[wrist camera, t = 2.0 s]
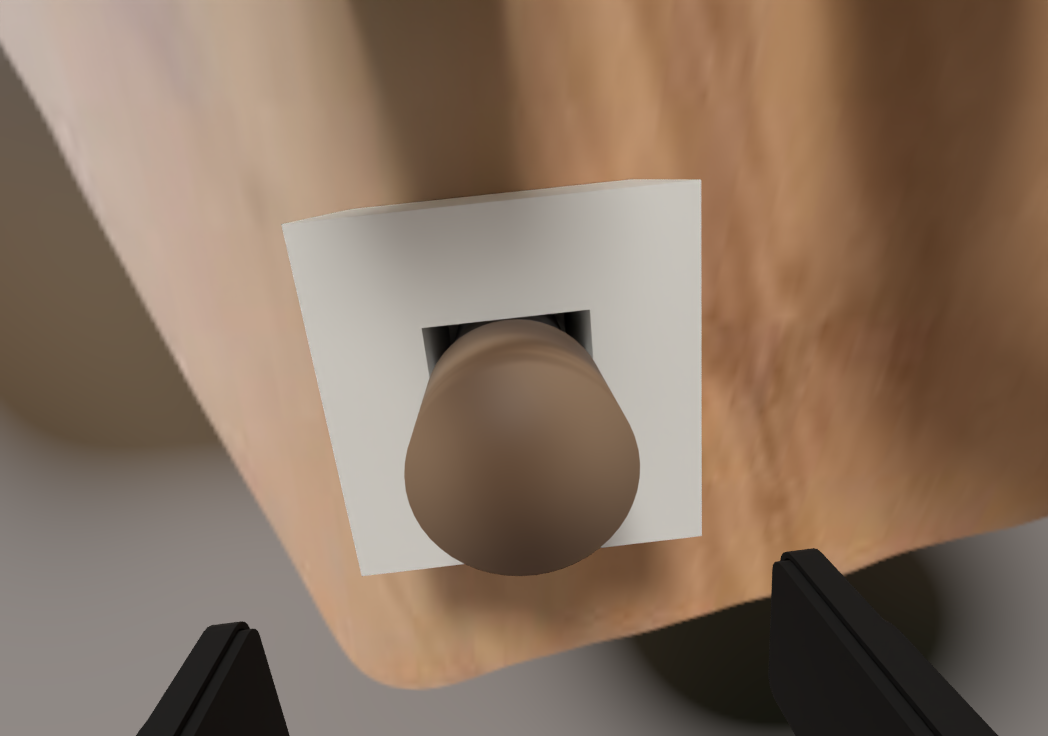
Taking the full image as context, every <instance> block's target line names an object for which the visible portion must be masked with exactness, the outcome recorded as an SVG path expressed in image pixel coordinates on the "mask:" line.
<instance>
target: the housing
mask: <svg viewBox="0 0 1048 736" xmlns="http://www.w3.org/2000/svg"><path fill="white" fill-rule="evenodd" d="M281 225H282V229H283V233H284V238H285V242H286V247H287V251H288V255H289V260H290V264H291V268H292V273H293V277H294V282H295V286H296V290H297V295H298V299H299V303H300V308H301V312H302V317H303V321H304V325H305V330H306V334H307V338H308V343H309V347H310V352H311V356H312V360H313V365H314V369H315V373H316V378H317V382H318V387H319V391H320V395H321V400H322V404H323V408H324V413H325V417H326V422H327V426H328V430H329V435H330V439H331V443H332V448H333V452H334V457H335V461H336V465H337V470H338V474H339V479H340V483H341V487H342V492H343V496H344V500H345V505H346V509H347V514H348V518H349V522H350V527H351V531H352V535H353V540H354V544H355V549H356V553H357V557H358V562H359V566H360V570H361V575H362V576H367V575H376V574H384V573H393V572H401V571H409V570H418V569H426V568H435V567H443V566H452V565H460V564H464V563H462V562H460V561H458V560H456V559H455V558H453V557H451V556H450V555H448V554H447V553H446V552H444V551H443V550H442V549H440V548H439V547H438V546H437V545H436V544H435V543H434V542H433V541H432V540H431V539H430V538H429V537H428V536H427V534H426V533H425V532H424V531H423V529H422V528H421V526H420V525H419V523H418V522H417V520H416V518H415V516H414V514H413V512H412V509H411V507H410V505H409V501H408V498H407V494H406V489H405V480H404V469H405V459H406V454H407V449H408V445H409V442H410V439H411V436H412V433H413V429H414V426H415V423H416V420H417V416H418V413H419V410H420V407H421V404H422V400H423V397H424V394H425V391H426V387H427V384H428V381H429V378H430V376H431V373H432V371H433V369H434V367H435V365H436V363H437V362H438V360H439V359H440V357H441V356H442V355H443V353H444V352H445V351H446V350H447V349H448V348H449V347H450V346H451V345H452V344H453V343H454V342H455V339H456V334H457V330H458V325H459V324H463V323H472V322H481V321H490V320H499V319H508V318H517V317H526V316H536V315H545V314H554V315H555V318H556V320H557V322H558V324H559V326H560V328H561V331H563V332H565V333H567V334H568V335H569V336H571V337H572V338H574V339H575V340H576V341H577V342H578V343H579V344H581V345H582V346H583V347H584V348H585V350H586V351H587V352H588V353H589V354H590V356H591V357H592V359H593V360H594V362H595V364H596V365H597V367H598V369H599V371H600V372H601V374H602V376H603V378H604V380H605V381H606V383H607V385H608V387H609V388H610V390H611V392H612V394H613V395H614V397H615V399H616V401H617V403H618V404H619V406H620V408H621V410H622V411H623V413H624V415H625V417H626V419H627V420H628V422H629V424H630V426H631V429H632V431H633V433H634V436H635V439H636V442H637V446H638V450H639V458H640V479H639V484H638V490H637V493H636V496H635V499H634V502H633V505H632V507H631V509H630V511H629V513H628V515H627V517H626V519H625V520H624V522H623V523H622V525H621V526H620V528H619V529H618V530H617V531H616V532H615V534H614V535H613V536H612V537H611V538H610V539H609V540H608V541H607V542H606V543H605V544H604V545H603V546H601V547H600V548H603V547H612V546H620V545H629V544H637V543H645V542H654V541H662V540H671V539H679V538H687V537H696V536H702V454H701V180H671V179H630V180H620V181H611V182H602V183H592V184H583V185H573V186H564V187H554V188H545V189H536V190H526V191H517V192H507V193H498V194H488V195H479V196H469V197H460V198H451V199H441V200H432V201H422V202H413V203H403V204H394V205H384V206H375V207H366V208H356V209H349V210H345V211H340V212H335V213H331V214H326V215H322V216H317V217H312V218H308V219H303V220H299V221H294V222H289V223H285V224H281Z"/></svg>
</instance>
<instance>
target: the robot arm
mask: <svg viewBox="0 0 1048 736" xmlns="http://www.w3.org/2000/svg"><path fill="white" fill-rule="evenodd" d="M769 651H770V652H769V683H770V687H771V691H772V693H773V696H774V698H775V700H776V702H777V704H778V705H779V707H780V709H781V710H782V713H783V714H784V716H785V718H786V720H787V721H788V723H789V725H790V727H791V728H792V730H793V732H794V734H795V735H796V736H998V735H997V734H996V733H995V732H994V731H993V730H992V729H991V728H990V727H989V726H988V724H987V723H986V722H985V721H984V720H983V719H982V718H981V717H980V716H979V715H978V714H977V713H976V712H975V711H974V710H973V708H972V707H970V705H969V704H968V703H967V702H966V701H965V700H964V699H963V698H962V697H961V696H960V695H959V694H958V692H957V691H956V690H955V689H954V688H953V687H952V686H951V685H950V684H949V683H948V682H947V681H946V680H945V679H944V678H943V677H942V675H941V674H940V673H939V672H938V671H937V670H936V669H935V668H934V667H933V666H932V665H931V664H930V663H929V662H928V660H927V659H926V658H925V657H924V656H923V655H922V654H921V653H920V652H919V651H918V650H917V649H916V648H915V647H914V646H913V645H912V643H911V642H910V641H909V640H908V639H907V638H906V637H905V636H904V635H903V634H902V633H901V632H900V631H899V630H898V629H897V628H896V627H895V626H894V625H893V624H891V623H890V622H888V621H886V620H883V619H882V617H881V616H880V615H879V614H878V613H877V612H876V611H875V610H874V609H873V608H872V607H871V606H870V604H869V603H868V602H867V601H866V600H865V599H864V598H863V597H862V596H861V595H860V594H859V593H858V591H856V589H855V588H854V587H853V586H852V585H851V584H850V583H849V582H848V581H847V580H846V579H845V577H844V576H843V575H842V574H841V573H840V572H839V571H838V570H837V569H836V568H835V567H834V565H833V564H832V563H831V562H830V561H829V560H828V559H827V558H826V557H825V556H824V555H823V554H822V553H821V552H820V551H819V550H818V549H814V548H813V549H805V550H797V551H790V552H785V553H783V554H782V556H781V560H780V561H778V562H774V564H773V569H772V596H771V623H770V650H769ZM136 736H289V732H288V729H287V726H286V722H285V719H284V716H283V712H282V709H281V706H280V702H279V699H278V695H277V692H276V689H275V685H274V682H273V679H272V675H271V672H270V669H269V665H268V662H267V659H266V655H265V652H264V648H263V645H262V642H261V638H260V635H259V633H258V631H257V630H256V629H250V628H249V626H248V624H246V623H245V622H234V623H227V624H219V625H211V626H209V627H207V629H206V630H205V631H204V632H203V634H202V635H201V637H200V639H199V640H198V642H197V643H196V645H195V646H194V648H193V649H192V651H191V653H190V654H189V656H188V657H187V659H186V660H185V662H184V664H183V665H182V667H181V668H180V670H179V671H178V673H177V675H176V676H175V678H174V679H173V681H172V683H171V684H170V686H169V687H168V689H167V690H166V692H165V693H164V695H163V697H162V698H161V700H160V701H159V703H158V705H157V706H156V708H155V709H154V711H153V713H152V714H151V716H150V717H149V719H148V720H147V722H146V723H145V724H144V726H143V727H142V728H141V729H140V730H139V732H138V734H137V735H136Z"/></svg>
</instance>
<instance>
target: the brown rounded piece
mask: <svg viewBox="0 0 1048 736" xmlns="http://www.w3.org/2000/svg"><path fill="white" fill-rule="evenodd" d="M639 479H640V458H639V450H638V446H637V442H636V439H635V436H634V433H633V431H632V429H631V426H630V424H629V422H628V420H627V419H626V417H625V415H624V413H623V411H622V410H621V408H620V406H619V404H618V403H617V401H616V399H615V397H614V395H613V394H612V392H611V390H610V388H609V387H608V385H607V383H606V381H605V380H604V378H603V376H602V374H601V372H600V371H599V369H598V367H597V365H596V364H595V362H594V360H593V359H592V357H591V356H590V354H589V353H588V352H587V351H586V350H585V348H584V347H583V346H582V345H581V344H579V343H578V342H577V341H576V340H575V339H574V338H572V337H571V336H569V335H568V334H567V333H565V332H563V331H561V328H560V326H559V324H558V322H557V320H556V318H555V315H554V314H545V315H536V316H526V317H517V318H508V319H499V320H490V321H481V322H472V323H463V324H459V325H458V330H457V334H456V339H455V342H454V343H453V344H452V345H451V346H450V347H449V348H448V349H447V350H446V351H445V352H444V353H443V355H442V356H441V357H440V359H439V360H438V362H437V363H436V365H435V367H434V369H433V371H432V373H431V376H430V378H429V381H428V384H427V387H426V391H425V394H424V397H423V400H422V404H421V407H420V410H419V413H418V416H417V420H416V423H415V426H414V429H413V433H412V436H411V439H410V442H409V445H408V449H407V454H406V459H405V469H404V480H405V489H406V494H407V498H408V501H409V505H410V507H411V509H412V512H413V514H414V516H415V518H416V520H417V522H418V523H419V525H420V526H421V528H422V529H423V531H424V532H425V533H426V534H427V536H428V537H429V538H430V539H431V540H432V541H433V542H434V543H435V544H436V545H437V546H438V547H439V548H440V549H442V550H443V551H444V552H446V553H447V554H448V555H450V556H451V557H453V558H455V559H456V560H458V561H460V562H462V563H464V564H466V565H468V566H471V567H473V568H476V569H478V570H482V571H486V572H489V573H494V574H500V575H509V576H528V575H538V574H543V573H549V572H552V571H556V570H559V569H563V568H565V567H567V566H570V565H572V564H575V563H577V562H579V561H580V560H582V559H584V558H586V557H588V556H589V555H591V554H592V553H593V552H595V551H596V550H598V549H599V548H600V547H601V546H603V545H604V544H605V543H606V542H607V541H608V540H609V539H610V538H611V537H612V536H613V535H614V534H615V532H616V531H617V530H618V529H619V528H620V526H621V525H622V523H623V522H624V520H625V519H626V517H627V515H628V513H629V511H630V509H631V507H632V505H633V502H634V499H635V496H636V493H637V490H638V484H639Z"/></svg>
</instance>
